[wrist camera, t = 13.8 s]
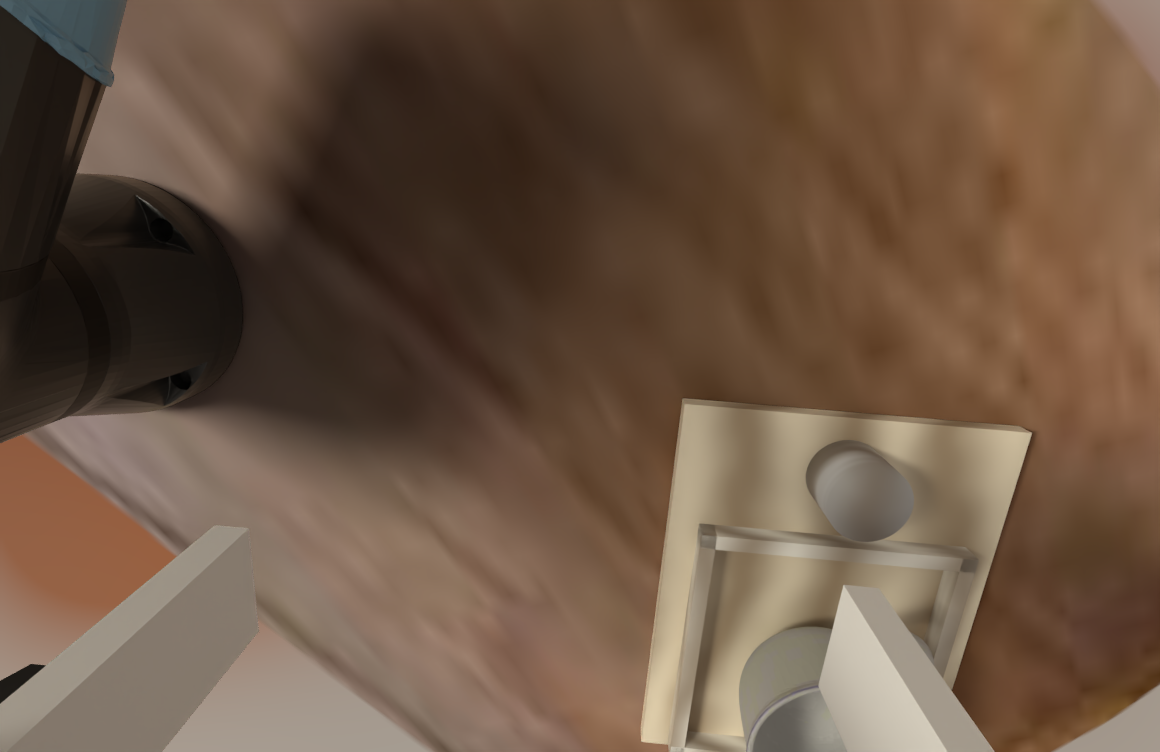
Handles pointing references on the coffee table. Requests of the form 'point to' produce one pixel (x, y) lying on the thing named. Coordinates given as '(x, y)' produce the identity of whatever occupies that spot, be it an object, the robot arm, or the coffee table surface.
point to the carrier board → (814, 543)
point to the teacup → (790, 694)
